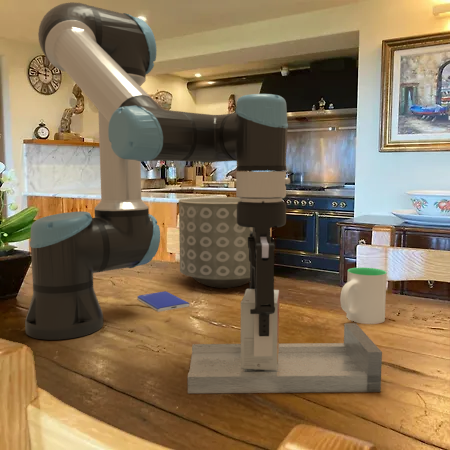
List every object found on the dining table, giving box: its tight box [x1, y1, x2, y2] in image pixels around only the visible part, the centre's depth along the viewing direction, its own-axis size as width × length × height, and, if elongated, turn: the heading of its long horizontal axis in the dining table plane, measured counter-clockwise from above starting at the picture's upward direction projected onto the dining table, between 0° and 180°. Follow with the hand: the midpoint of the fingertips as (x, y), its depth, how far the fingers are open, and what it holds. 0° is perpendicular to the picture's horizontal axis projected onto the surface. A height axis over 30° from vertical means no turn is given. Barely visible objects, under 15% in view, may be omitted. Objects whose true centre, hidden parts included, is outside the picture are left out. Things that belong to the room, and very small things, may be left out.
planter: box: [178, 196, 253, 289], centre depth 135 cm, size 25×25×24 cm
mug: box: [339, 267, 387, 325], centre depth 102 cm, size 12×8×10 cm
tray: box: [187, 322, 383, 394], centre depth 75 cm, size 28×13×6 cm, turn 91°
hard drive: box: [136, 290, 190, 313], centre depth 116 cm, size 2×8×12 cm
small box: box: [240, 288, 280, 370], centre depth 74 cm, size 8×6×10 cm
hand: (260, 343), depth 75 cm, fingers closed on small box, 8 cm apart
